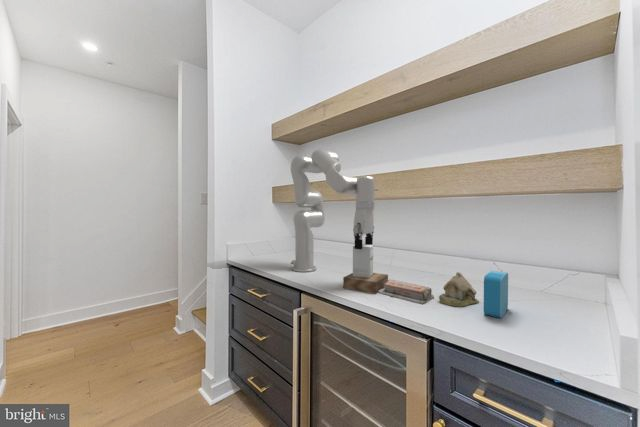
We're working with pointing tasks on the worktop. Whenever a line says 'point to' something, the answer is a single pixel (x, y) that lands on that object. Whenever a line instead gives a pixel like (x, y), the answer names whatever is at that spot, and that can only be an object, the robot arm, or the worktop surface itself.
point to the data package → (495, 293)
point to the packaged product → (407, 291)
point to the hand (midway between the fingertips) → (363, 247)
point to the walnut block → (365, 283)
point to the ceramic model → (458, 292)
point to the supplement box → (363, 261)
